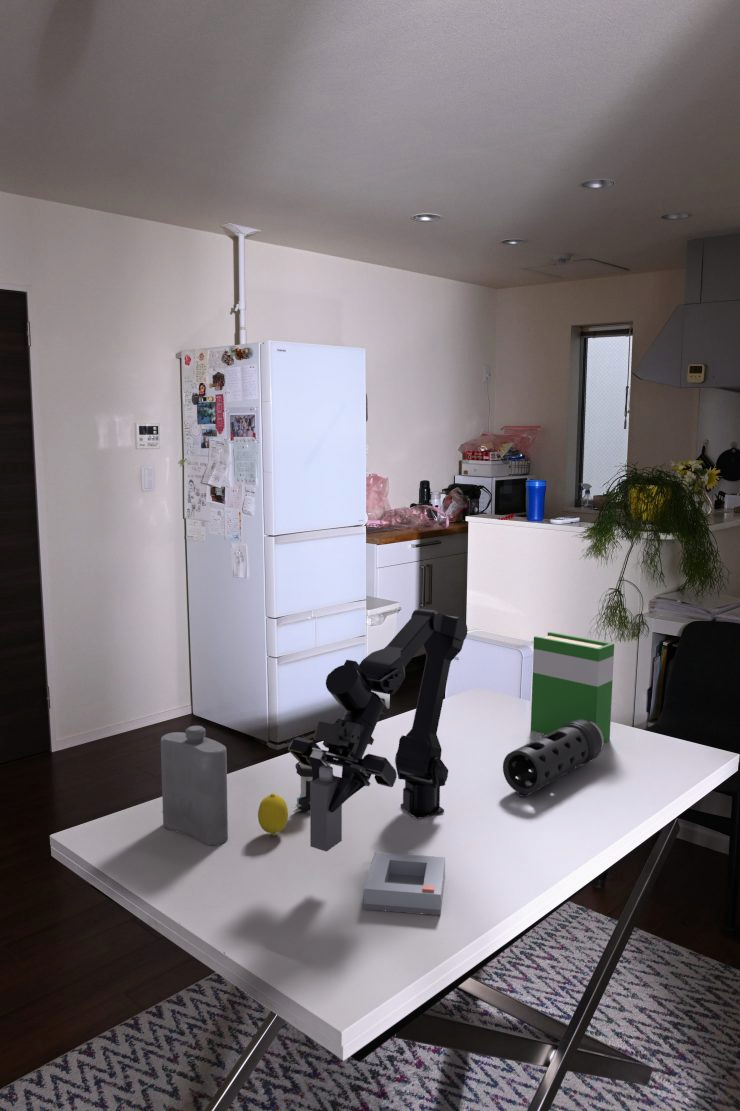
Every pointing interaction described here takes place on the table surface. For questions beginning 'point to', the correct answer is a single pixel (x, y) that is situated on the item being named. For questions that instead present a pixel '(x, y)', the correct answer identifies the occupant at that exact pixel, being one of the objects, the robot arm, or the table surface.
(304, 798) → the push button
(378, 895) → the socket box
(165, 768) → the flask
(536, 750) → the muzzle brake
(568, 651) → the hardback book
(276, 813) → the lemon
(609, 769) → the table surface
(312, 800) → the plug
